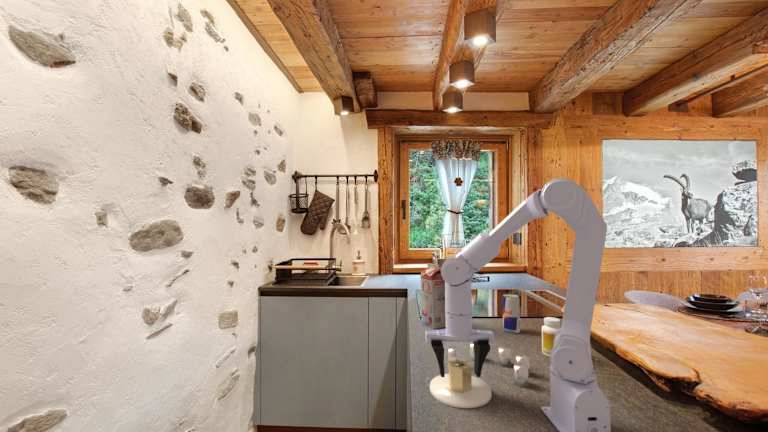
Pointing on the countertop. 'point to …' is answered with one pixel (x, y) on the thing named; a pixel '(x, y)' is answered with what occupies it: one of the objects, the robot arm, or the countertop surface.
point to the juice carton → (432, 297)
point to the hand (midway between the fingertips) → (459, 375)
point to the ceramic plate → (461, 400)
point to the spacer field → (502, 362)
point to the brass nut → (460, 376)
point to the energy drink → (511, 313)
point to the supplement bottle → (549, 334)
